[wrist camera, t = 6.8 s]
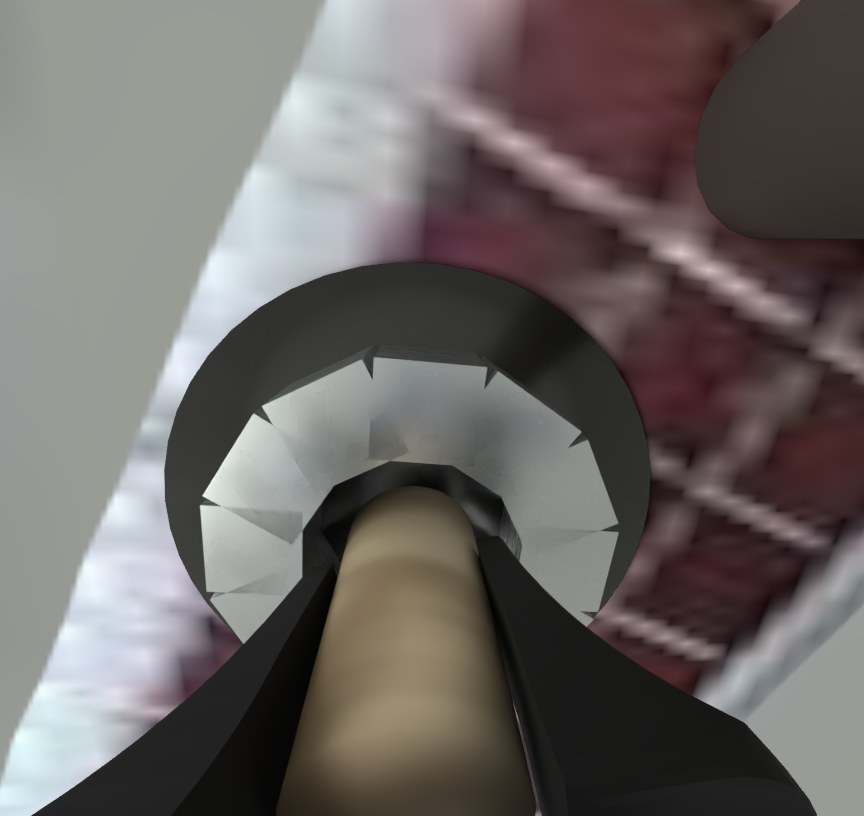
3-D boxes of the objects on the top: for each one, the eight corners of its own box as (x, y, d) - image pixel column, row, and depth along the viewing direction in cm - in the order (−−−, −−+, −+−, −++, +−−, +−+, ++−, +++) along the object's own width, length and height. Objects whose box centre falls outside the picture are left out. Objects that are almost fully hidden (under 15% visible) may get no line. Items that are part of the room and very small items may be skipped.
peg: (427, 611, 14) (438, 921, 7) (325, 557, 13) (228, 849, 6) (499, 526, 13) (588, 790, 6) (393, 462, 12) (366, 687, 5)
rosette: (460, 744, 18) (468, 824, 15) (89, 565, 15) (18, 627, 12) (743, 456, 14) (817, 494, 12) (334, 133, 11) (309, 86, 8)
